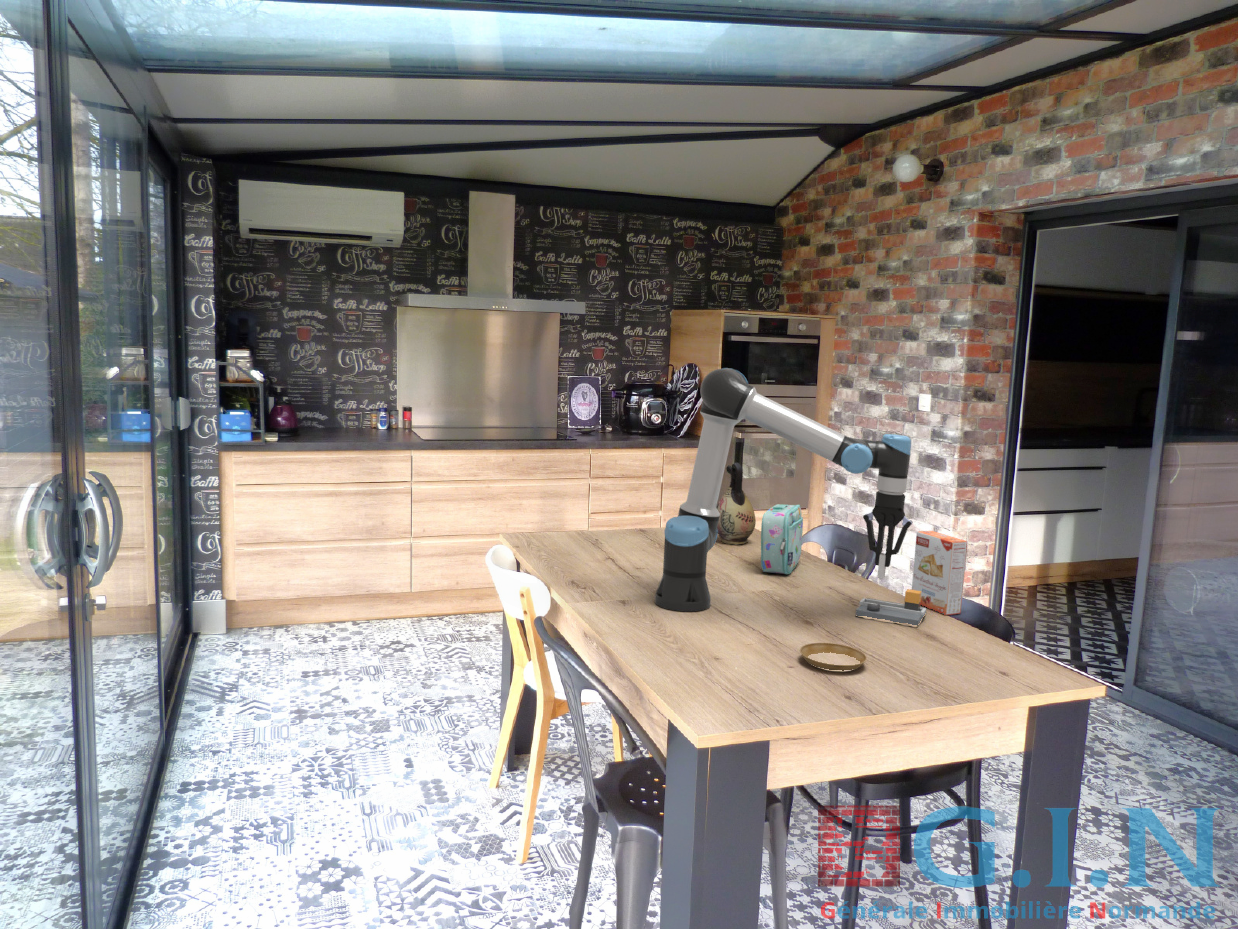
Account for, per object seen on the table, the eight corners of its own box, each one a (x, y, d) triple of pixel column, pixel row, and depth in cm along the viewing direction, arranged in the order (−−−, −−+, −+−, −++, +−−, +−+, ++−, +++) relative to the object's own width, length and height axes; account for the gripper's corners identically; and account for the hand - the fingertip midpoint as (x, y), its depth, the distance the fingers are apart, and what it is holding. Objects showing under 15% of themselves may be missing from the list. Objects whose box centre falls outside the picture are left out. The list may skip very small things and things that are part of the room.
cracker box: (909, 602, 254) (915, 530, 251) (925, 600, 256) (932, 529, 253) (944, 616, 241) (951, 541, 238) (961, 614, 243) (968, 540, 241)
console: (918, 628, 229) (920, 614, 228) (853, 616, 236) (854, 603, 236) (927, 615, 241) (928, 602, 240) (865, 604, 249) (866, 591, 248)
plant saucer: (879, 674, 194) (880, 663, 194) (819, 678, 190) (820, 666, 190) (844, 651, 208) (844, 641, 208) (787, 655, 204) (788, 644, 204)
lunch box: (789, 580, 273) (794, 511, 270) (756, 575, 276) (761, 508, 273) (802, 562, 298) (806, 499, 295) (771, 558, 301) (776, 496, 298)
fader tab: (917, 612, 235) (919, 593, 234) (903, 610, 236) (905, 591, 236) (919, 610, 237) (921, 591, 237) (906, 607, 239) (907, 589, 238)
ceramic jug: (707, 537, 331) (712, 458, 327) (748, 538, 333) (753, 459, 329) (717, 547, 314) (723, 464, 310) (760, 548, 316) (765, 465, 312)
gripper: (918, 494, 237) (908, 579, 240) (869, 487, 243) (859, 570, 246) (913, 497, 230) (903, 585, 233) (863, 490, 236) (853, 575, 239)
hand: (880, 577), depth 240 cm, fingers closed
